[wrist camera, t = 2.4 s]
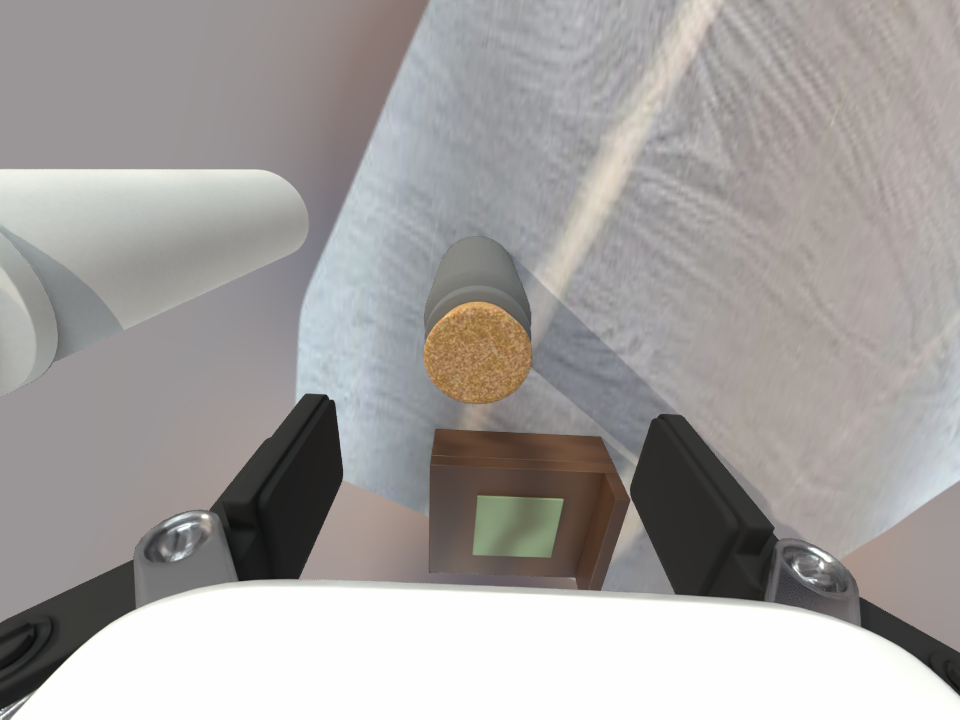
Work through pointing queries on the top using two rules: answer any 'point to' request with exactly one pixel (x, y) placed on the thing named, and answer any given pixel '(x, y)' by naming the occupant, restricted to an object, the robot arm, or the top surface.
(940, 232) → the top surface
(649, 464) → the robot arm
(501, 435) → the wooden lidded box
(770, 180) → the top surface
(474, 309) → the bottle
